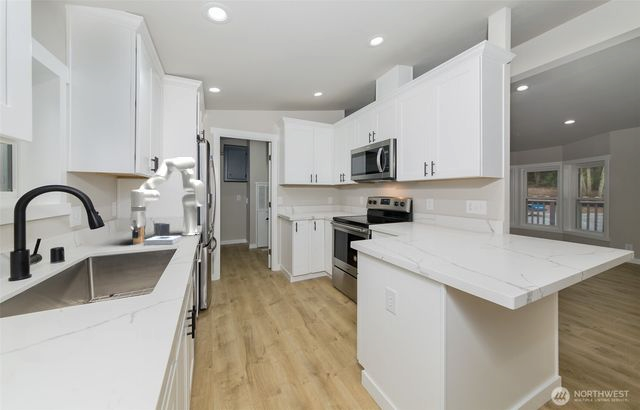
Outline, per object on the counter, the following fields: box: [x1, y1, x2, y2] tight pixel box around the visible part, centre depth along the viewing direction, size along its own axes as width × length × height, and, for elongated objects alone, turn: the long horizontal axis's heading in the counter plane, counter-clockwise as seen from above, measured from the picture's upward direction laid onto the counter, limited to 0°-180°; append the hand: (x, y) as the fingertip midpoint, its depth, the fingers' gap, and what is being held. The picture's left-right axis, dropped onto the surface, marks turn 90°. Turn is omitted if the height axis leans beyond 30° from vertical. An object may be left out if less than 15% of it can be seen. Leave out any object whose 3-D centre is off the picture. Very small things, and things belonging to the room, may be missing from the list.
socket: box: [143, 235, 182, 246], centre depth 164 cm, size 16×16×3 cm
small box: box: [153, 222, 171, 237], centre depth 180 cm, size 11×6×10 cm, turn 56°
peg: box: [132, 227, 145, 245], centre depth 160 cm, size 4×4×10 cm
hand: (138, 237), depth 160 cm, fingers open, 7 cm apart
